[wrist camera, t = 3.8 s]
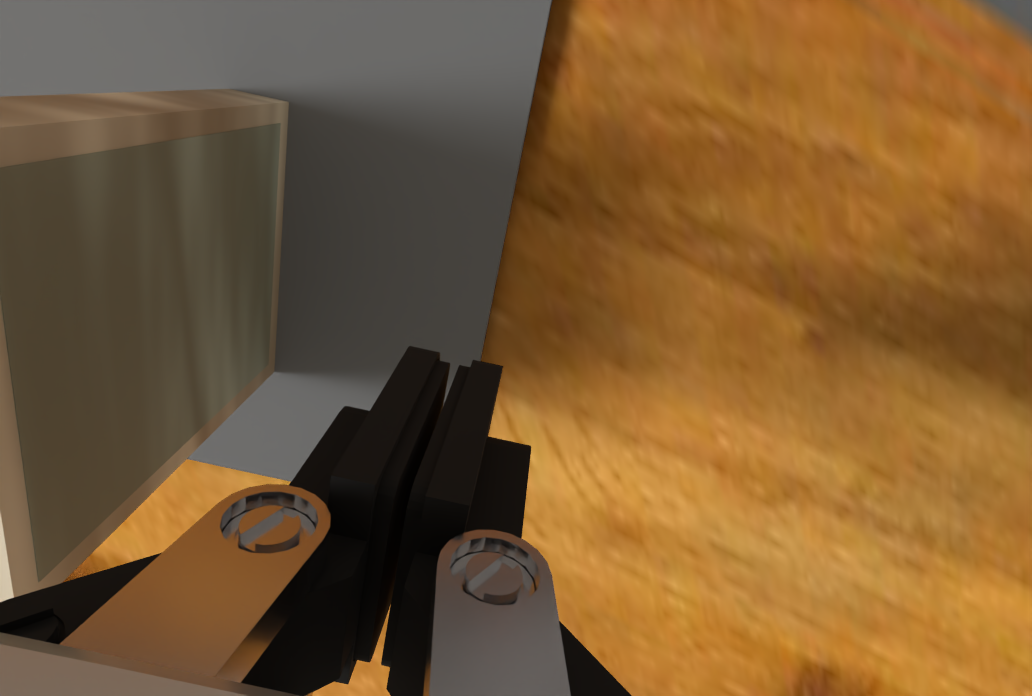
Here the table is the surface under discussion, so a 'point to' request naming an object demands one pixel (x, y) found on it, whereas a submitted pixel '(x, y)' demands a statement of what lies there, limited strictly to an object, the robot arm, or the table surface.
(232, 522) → the robot arm
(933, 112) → the table surface
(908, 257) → the table surface
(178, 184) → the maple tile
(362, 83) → the rubber mat
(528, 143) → the table surface
